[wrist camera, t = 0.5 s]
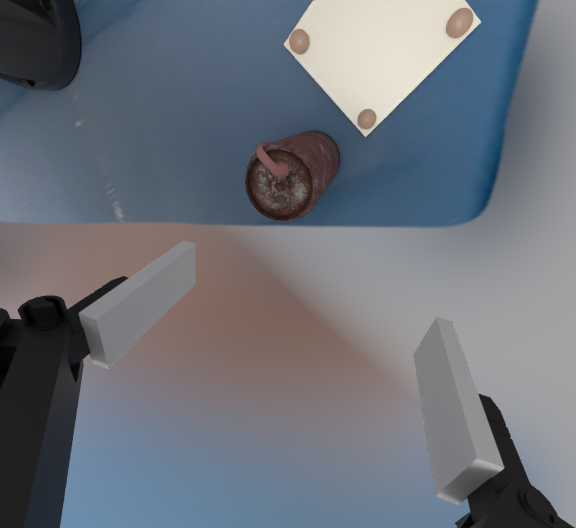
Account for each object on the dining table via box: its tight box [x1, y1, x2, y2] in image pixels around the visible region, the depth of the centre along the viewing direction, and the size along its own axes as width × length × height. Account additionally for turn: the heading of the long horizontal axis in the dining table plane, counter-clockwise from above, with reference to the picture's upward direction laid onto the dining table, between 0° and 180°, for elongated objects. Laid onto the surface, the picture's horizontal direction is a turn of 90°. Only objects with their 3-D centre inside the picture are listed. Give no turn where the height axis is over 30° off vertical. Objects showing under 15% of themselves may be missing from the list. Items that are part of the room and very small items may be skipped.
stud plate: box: [284, 0, 481, 137], centre depth 26 cm, size 12×12×2 cm
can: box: [245, 131, 340, 221], centre depth 27 cm, size 6×6×14 cm
